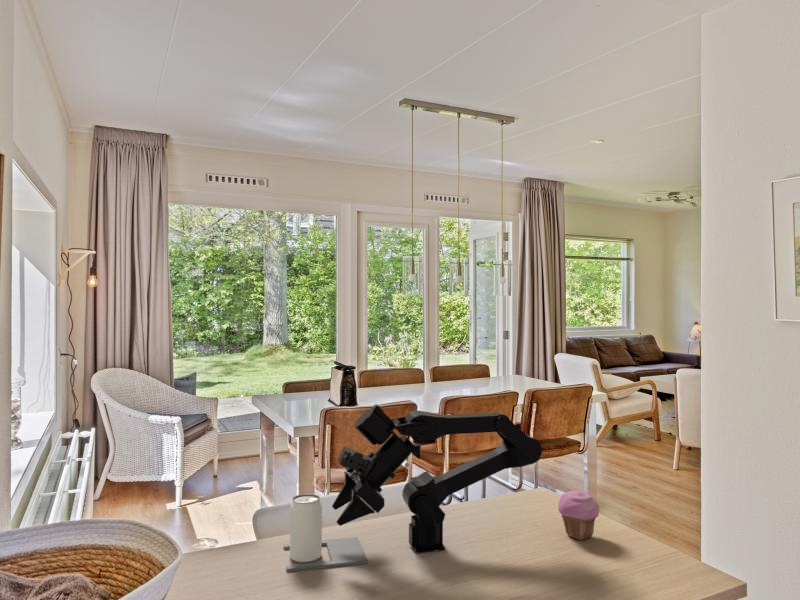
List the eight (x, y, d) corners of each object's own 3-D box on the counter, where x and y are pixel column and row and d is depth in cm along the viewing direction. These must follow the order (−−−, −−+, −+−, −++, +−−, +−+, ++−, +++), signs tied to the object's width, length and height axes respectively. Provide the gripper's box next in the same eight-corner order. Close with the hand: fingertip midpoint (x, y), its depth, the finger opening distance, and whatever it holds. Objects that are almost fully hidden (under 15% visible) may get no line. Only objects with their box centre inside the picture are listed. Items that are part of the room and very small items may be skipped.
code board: (357, 539, 124) (357, 536, 125) (367, 563, 113) (367, 560, 113) (283, 546, 120) (283, 543, 120) (286, 572, 109) (286, 568, 109)
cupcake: (583, 547, 121) (583, 501, 121) (550, 535, 128) (550, 490, 128) (606, 537, 126) (606, 492, 127) (573, 525, 133) (573, 483, 133)
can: (316, 564, 112) (316, 504, 112) (285, 562, 113) (285, 502, 113) (325, 551, 118) (325, 494, 119) (295, 549, 119) (296, 492, 120)
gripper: (354, 425, 128) (305, 477, 125) (368, 444, 110) (310, 505, 107) (388, 457, 129) (341, 509, 127) (407, 482, 111) (352, 543, 109)
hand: (335, 515), depth 117 cm, fingers open, 9 cm apart
